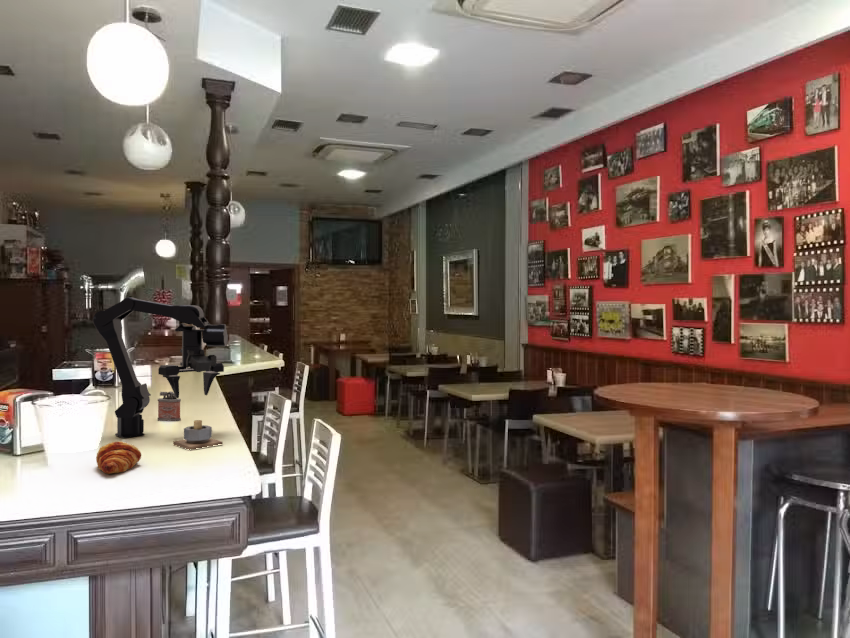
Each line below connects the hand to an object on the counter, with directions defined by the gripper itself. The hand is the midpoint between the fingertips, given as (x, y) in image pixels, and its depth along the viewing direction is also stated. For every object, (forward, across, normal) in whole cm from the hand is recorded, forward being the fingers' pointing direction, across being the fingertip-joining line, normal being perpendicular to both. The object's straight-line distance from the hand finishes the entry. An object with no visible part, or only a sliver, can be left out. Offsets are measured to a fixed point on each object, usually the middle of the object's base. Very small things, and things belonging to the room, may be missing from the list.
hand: (191, 396), depth 198 cm
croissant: (+12, -30, -23) cm, 40 cm away
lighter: (+12, +6, +29) cm, 32 cm away
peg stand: (+12, -5, -14) cm, 19 cm away
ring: (+10, -5, -14) cm, 18 cm away
